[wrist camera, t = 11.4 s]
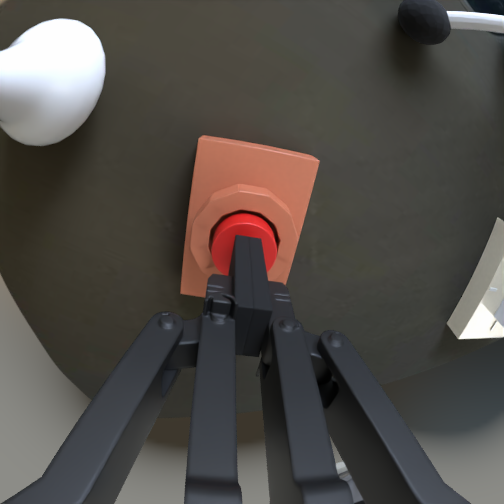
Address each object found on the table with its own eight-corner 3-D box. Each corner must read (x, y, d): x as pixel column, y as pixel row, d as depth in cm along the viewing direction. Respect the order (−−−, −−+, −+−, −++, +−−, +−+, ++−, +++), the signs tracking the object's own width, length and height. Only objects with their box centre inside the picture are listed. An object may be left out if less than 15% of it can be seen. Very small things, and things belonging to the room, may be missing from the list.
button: (267, 271, 21) (269, 285, 20) (209, 263, 21) (207, 276, 19) (280, 218, 19) (284, 229, 18) (218, 207, 19) (216, 218, 17)
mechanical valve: (563, 113, 15) (618, 114, 5) (427, 95, 26) (406, 78, 16) (547, 27, 11) (583, -17, 1) (412, 14, 22) (376, -42, 12)
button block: (276, 292, 26) (281, 321, 23) (184, 279, 25) (176, 307, 22) (312, 155, 21) (327, 166, 17) (202, 134, 20) (194, 141, 16)
